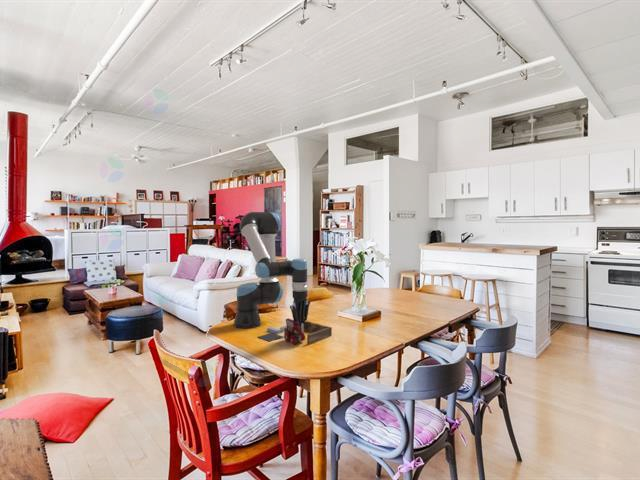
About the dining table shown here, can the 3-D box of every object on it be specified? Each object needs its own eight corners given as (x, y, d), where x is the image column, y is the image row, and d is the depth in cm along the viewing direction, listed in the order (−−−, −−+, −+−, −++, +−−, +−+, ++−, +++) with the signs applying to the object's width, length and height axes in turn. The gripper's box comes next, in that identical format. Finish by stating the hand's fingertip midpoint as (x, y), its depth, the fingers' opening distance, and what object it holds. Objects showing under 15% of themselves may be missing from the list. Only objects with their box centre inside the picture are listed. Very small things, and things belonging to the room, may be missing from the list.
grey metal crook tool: (279, 331, 194) (279, 327, 194) (293, 327, 202) (293, 323, 202) (287, 333, 190) (287, 330, 190) (301, 329, 198) (301, 325, 197)
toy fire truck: (296, 346, 171) (294, 325, 170) (282, 339, 181) (280, 320, 180) (308, 341, 175) (306, 321, 174) (294, 335, 185) (291, 315, 184)
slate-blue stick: (267, 331, 195) (267, 328, 195) (270, 330, 197) (270, 326, 196) (277, 334, 189) (277, 331, 189) (280, 333, 191) (280, 330, 191)
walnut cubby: (284, 336, 185) (284, 328, 185) (307, 328, 198) (307, 320, 198) (309, 344, 174) (309, 335, 174) (331, 335, 187) (331, 327, 187)
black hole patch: (257, 337, 184) (257, 336, 184) (270, 333, 191) (270, 332, 191) (269, 341, 178) (269, 340, 178) (282, 337, 185) (282, 336, 185)
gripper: (296, 293, 172) (297, 341, 174) (313, 288, 182) (314, 333, 184) (285, 291, 177) (286, 337, 179) (303, 286, 187) (303, 331, 189)
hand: (300, 335), depth 181 cm, fingers closed
